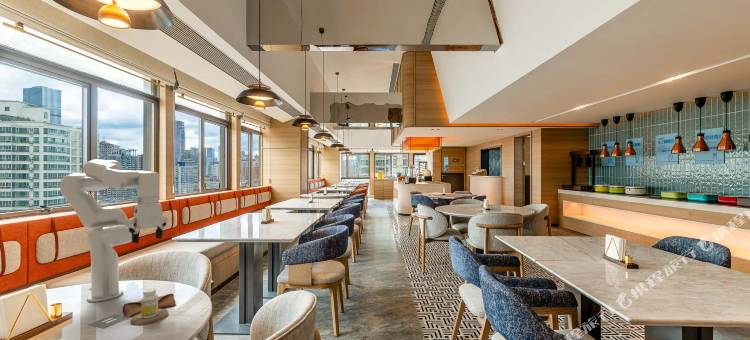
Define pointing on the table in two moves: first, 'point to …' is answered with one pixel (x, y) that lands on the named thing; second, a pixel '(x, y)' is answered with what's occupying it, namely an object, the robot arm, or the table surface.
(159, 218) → the robot arm
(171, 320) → the table surface
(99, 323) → the gray tile
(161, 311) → the walnut coaster
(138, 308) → the sunglasses case
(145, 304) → the supplement bottle
